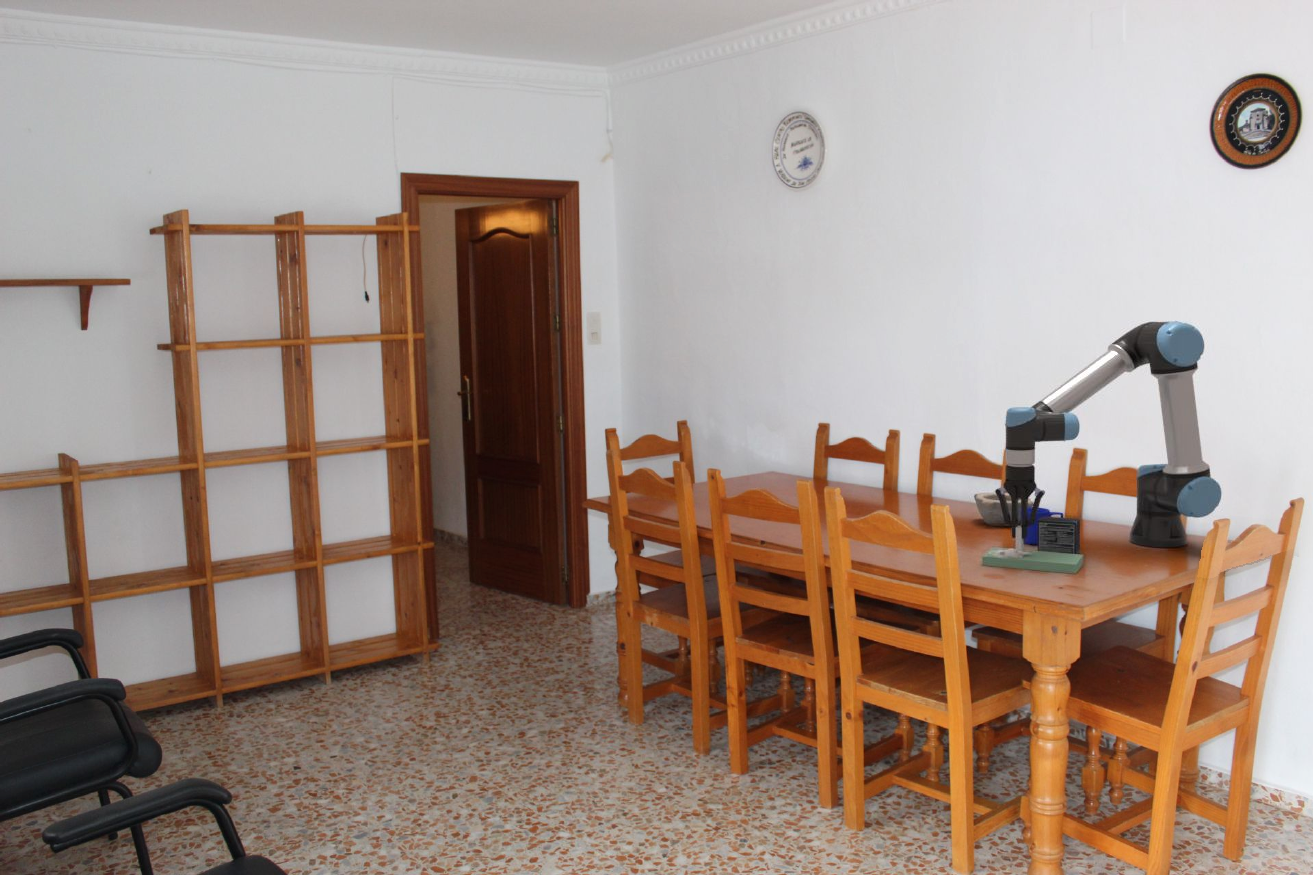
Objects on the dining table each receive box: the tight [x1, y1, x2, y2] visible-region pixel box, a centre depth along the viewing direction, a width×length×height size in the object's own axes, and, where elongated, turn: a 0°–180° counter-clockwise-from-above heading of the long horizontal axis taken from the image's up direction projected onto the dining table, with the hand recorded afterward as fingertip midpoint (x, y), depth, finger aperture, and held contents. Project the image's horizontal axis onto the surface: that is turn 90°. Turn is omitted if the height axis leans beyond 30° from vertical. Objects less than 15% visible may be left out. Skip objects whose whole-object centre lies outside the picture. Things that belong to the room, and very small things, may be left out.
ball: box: [1004, 548, 1020, 556], centre depth 288 cm, size 4×4×4 cm
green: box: [981, 546, 1084, 575], centre depth 286 cm, size 24×12×2 cm, turn 59°
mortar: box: [973, 492, 1034, 528], centre depth 339 cm, size 17×17×9 cm
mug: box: [1020, 506, 1064, 546], centre depth 310 cm, size 8×12×10 cm
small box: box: [1037, 516, 1081, 555], centre depth 295 cm, size 11×6×10 cm, turn 59°
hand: (1019, 549), depth 287 cm, fingers closed
